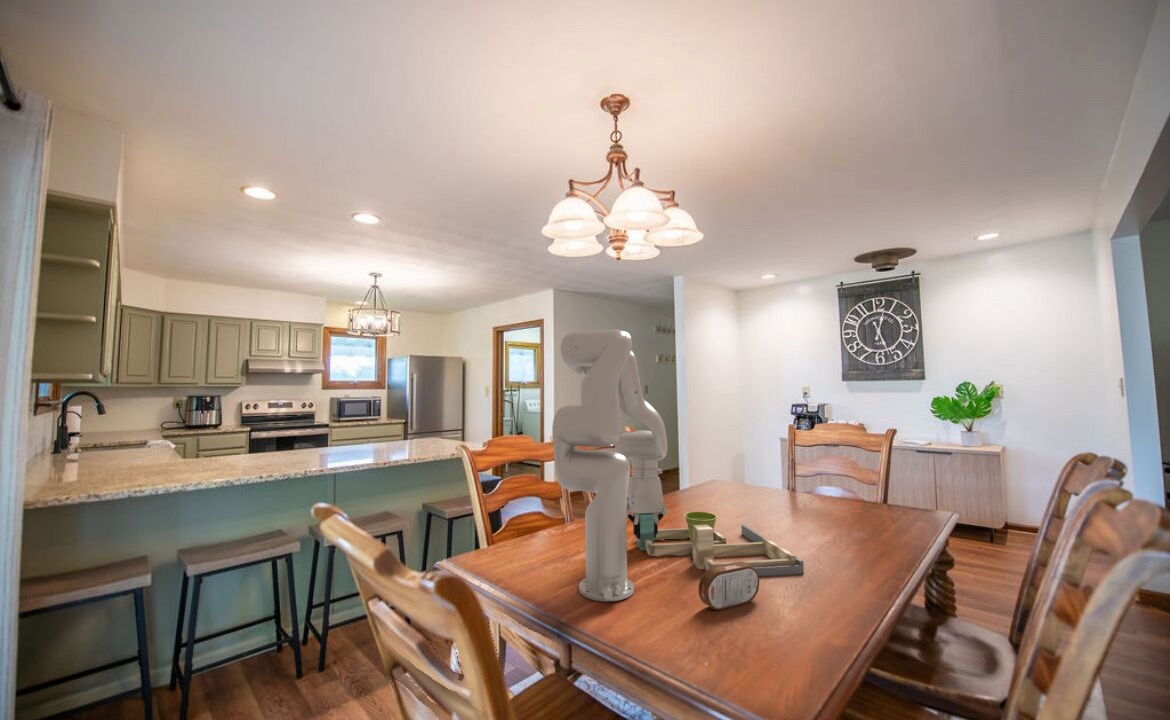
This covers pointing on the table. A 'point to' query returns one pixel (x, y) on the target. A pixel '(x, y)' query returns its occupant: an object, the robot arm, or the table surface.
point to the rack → (771, 569)
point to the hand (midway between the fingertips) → (645, 536)
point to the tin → (728, 585)
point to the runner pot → (667, 548)
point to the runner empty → (735, 550)
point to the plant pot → (699, 520)
